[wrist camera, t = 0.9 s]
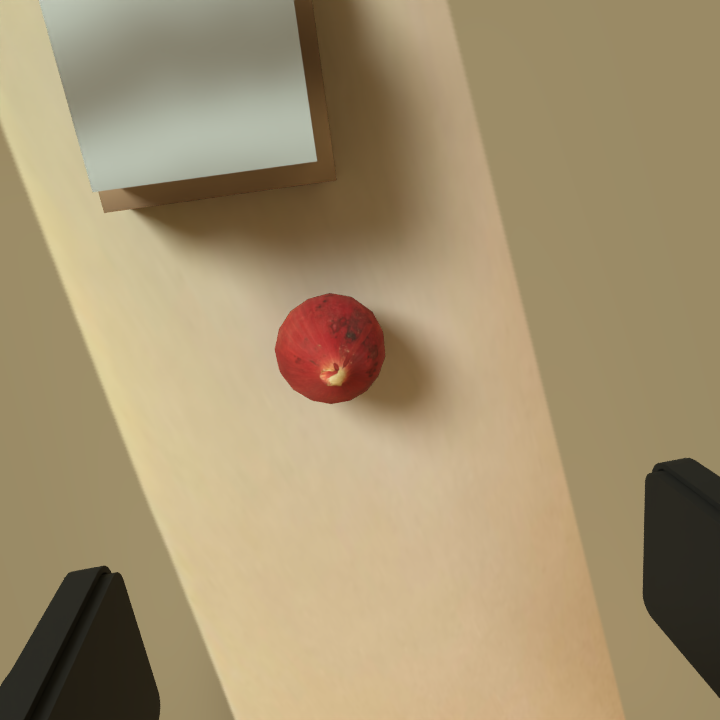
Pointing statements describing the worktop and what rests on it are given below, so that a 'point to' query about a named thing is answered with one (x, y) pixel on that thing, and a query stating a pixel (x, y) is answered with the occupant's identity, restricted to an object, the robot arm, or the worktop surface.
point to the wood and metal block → (192, 96)
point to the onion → (330, 348)
